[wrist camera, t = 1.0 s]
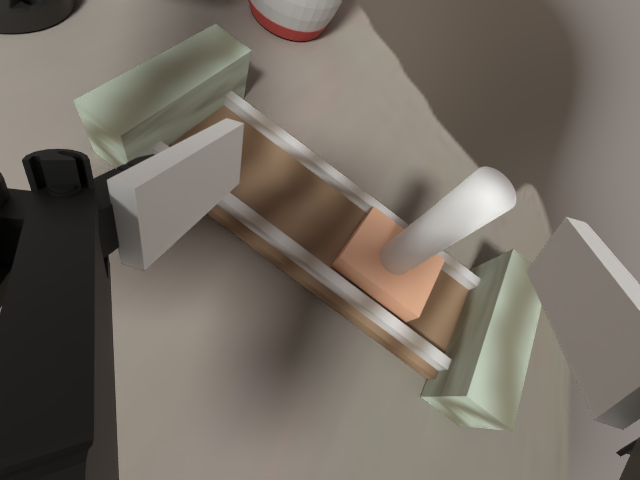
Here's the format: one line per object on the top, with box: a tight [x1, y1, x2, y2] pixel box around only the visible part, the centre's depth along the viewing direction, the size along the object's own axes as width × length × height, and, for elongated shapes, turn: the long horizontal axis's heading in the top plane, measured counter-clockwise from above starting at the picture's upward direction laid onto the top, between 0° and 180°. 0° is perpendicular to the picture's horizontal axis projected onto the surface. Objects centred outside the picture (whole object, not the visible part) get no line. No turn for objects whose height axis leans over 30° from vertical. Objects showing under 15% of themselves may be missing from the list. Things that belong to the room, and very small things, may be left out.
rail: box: [73, 24, 542, 431], centre depth 37 cm, size 48×18×7 cm, turn 57°
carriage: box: [331, 167, 516, 322], centre depth 31 cm, size 10×8×16 cm
